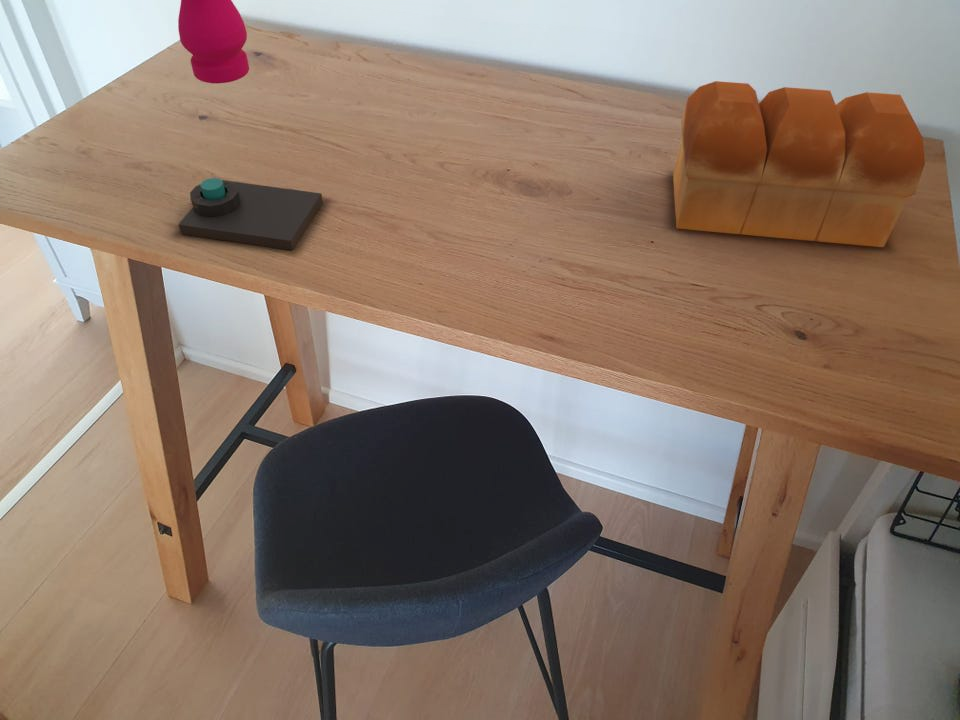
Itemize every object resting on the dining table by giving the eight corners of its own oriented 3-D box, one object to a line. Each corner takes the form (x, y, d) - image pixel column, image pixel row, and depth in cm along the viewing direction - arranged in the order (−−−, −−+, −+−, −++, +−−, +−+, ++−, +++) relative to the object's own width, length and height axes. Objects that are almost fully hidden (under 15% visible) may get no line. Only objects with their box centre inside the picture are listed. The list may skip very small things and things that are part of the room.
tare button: (199, 199, 91) (196, 188, 90) (209, 187, 93) (206, 176, 92) (219, 202, 91) (216, 191, 90) (229, 190, 93) (226, 179, 91)
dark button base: (179, 233, 91) (172, 212, 89) (217, 188, 98) (211, 167, 95) (292, 250, 89) (288, 229, 86) (323, 202, 96) (319, 181, 93)
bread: (673, 229, 92) (699, 115, 82) (669, 174, 101) (693, 64, 90) (888, 249, 90) (943, 134, 79) (865, 190, 99) (913, 80, 88)
